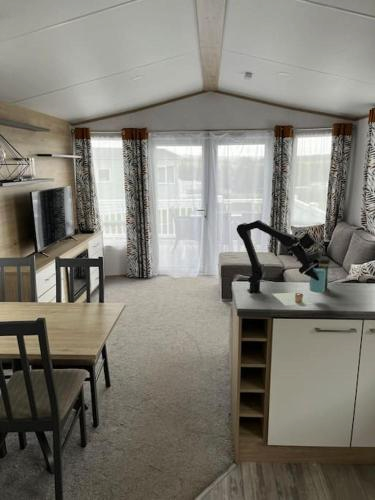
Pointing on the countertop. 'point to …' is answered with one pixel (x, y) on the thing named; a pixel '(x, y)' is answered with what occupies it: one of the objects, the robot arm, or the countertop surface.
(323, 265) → the coffee jar
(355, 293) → the countertop surface
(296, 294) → the terracotta pot
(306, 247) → the robot arm
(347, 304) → the countertop surface
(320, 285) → the teal rounded cylinder
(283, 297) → the sage mat
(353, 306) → the countertop surface
